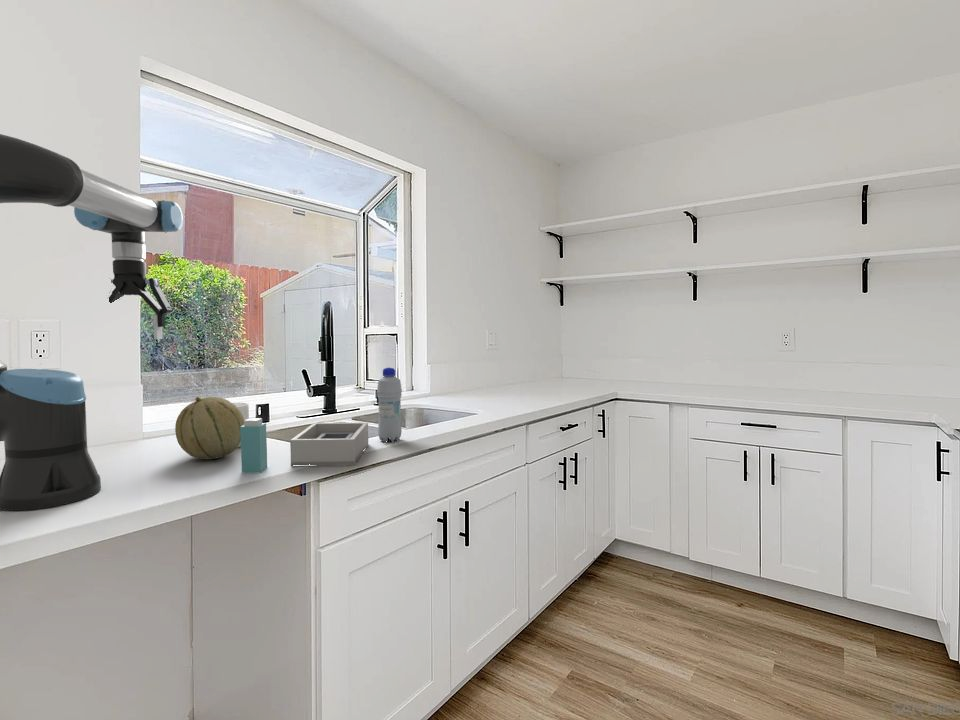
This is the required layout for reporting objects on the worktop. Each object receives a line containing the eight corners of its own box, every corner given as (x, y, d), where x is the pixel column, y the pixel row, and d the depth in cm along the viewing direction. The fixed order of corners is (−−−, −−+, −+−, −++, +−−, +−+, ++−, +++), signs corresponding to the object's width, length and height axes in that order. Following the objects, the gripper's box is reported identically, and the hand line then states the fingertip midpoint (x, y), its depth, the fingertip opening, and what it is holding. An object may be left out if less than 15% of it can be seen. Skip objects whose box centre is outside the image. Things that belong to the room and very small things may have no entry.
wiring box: (354, 465, 118) (353, 439, 117) (290, 466, 117) (290, 440, 117) (368, 445, 138) (368, 422, 137) (314, 445, 137) (313, 423, 136)
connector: (260, 472, 112) (259, 421, 111) (241, 473, 112) (240, 421, 111) (267, 467, 116) (265, 417, 115) (248, 467, 116) (247, 417, 115)
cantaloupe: (259, 453, 129) (257, 393, 128) (210, 469, 115) (207, 401, 114) (213, 448, 134) (211, 390, 133) (160, 463, 120) (158, 398, 119)
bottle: (372, 441, 141) (371, 368, 140) (385, 436, 148) (384, 366, 146) (395, 443, 139) (394, 368, 138) (406, 438, 145) (406, 366, 144)
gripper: (184, 262, 145) (186, 338, 146) (91, 261, 144) (95, 338, 146) (168, 258, 138) (172, 339, 139) (71, 258, 137) (75, 339, 138)
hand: (132, 339), depth 142 cm, fingers open, 13 cm apart
